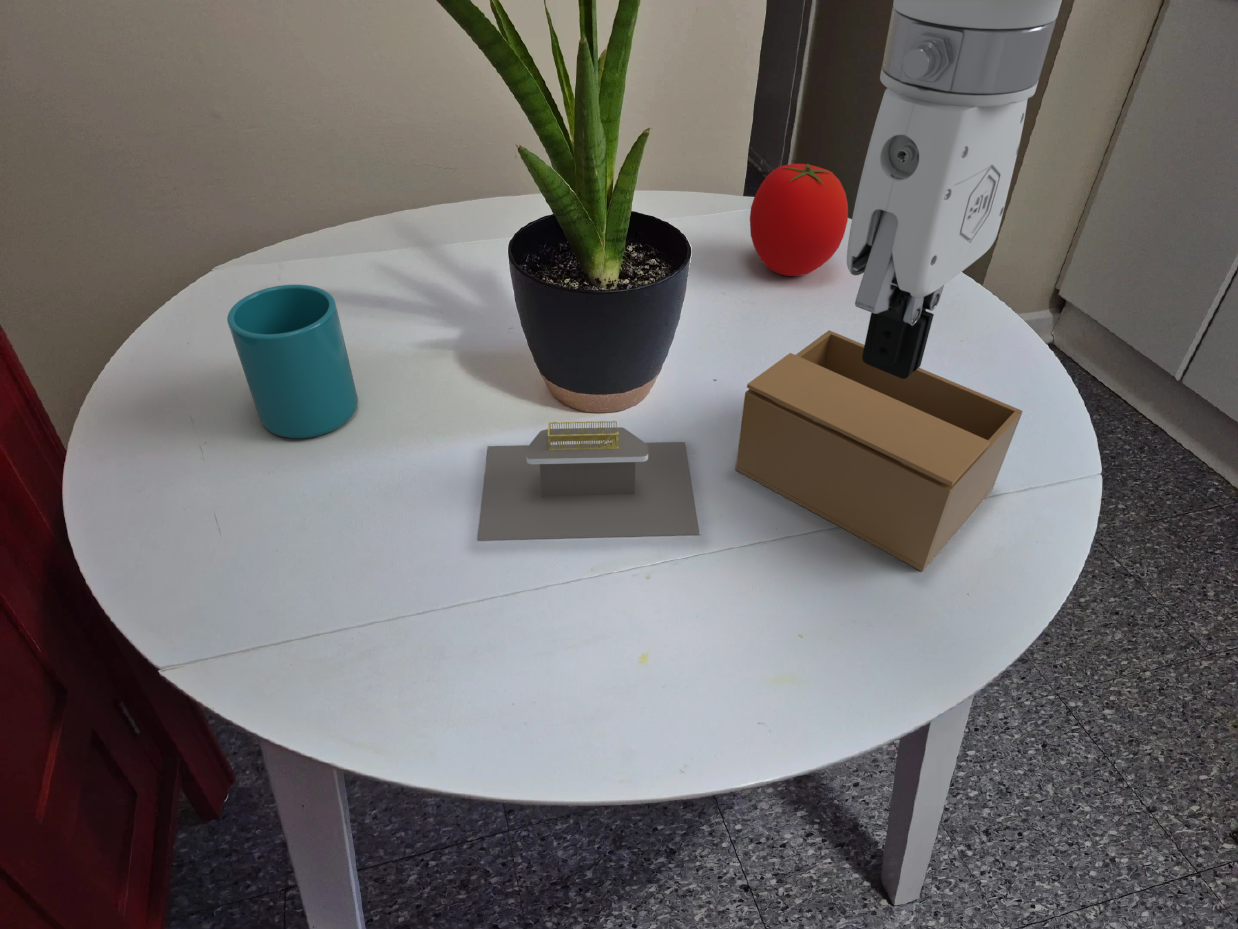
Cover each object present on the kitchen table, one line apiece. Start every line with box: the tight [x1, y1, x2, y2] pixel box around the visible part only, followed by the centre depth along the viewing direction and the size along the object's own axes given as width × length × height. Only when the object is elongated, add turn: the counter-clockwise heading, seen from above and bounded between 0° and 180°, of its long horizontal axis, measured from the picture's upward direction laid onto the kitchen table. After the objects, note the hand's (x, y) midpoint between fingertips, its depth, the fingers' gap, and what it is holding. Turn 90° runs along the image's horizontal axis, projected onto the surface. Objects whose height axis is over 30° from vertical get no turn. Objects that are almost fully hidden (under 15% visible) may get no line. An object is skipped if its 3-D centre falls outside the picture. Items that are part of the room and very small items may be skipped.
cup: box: [226, 284, 359, 439], centre depth 80 cm, size 9×12×11 cm
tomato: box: [749, 163, 849, 277], centre depth 101 cm, size 11×11×13 cm
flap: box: [746, 352, 990, 486], centre depth 68 cm, size 18×6×1 cm, turn 48°
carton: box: [735, 329, 1023, 572], centre depth 73 cm, size 18×13×8 cm
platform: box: [477, 420, 701, 541], centre depth 73 cm, size 12×18×7 cm, turn 92°
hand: (890, 365), depth 55 cm, fingers closed
